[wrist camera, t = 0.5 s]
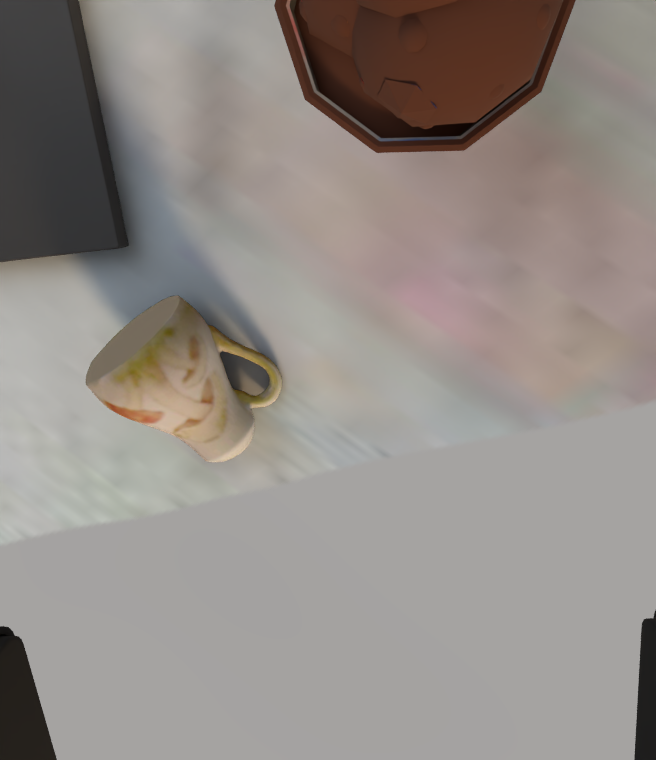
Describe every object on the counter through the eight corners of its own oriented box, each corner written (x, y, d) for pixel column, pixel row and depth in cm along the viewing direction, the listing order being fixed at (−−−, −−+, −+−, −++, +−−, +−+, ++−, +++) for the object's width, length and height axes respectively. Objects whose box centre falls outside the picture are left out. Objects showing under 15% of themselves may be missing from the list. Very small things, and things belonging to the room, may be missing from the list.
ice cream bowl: (264, 36, 32) (171, -84, 18) (444, -126, 30) (502, -417, 15) (383, 205, 34) (385, 217, 20) (562, 67, 32) (711, -31, 17)
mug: (215, 473, 40) (87, 495, 32) (174, 337, 42) (43, 323, 34) (306, 433, 37) (190, 446, 28) (256, 287, 39) (135, 257, 30)
